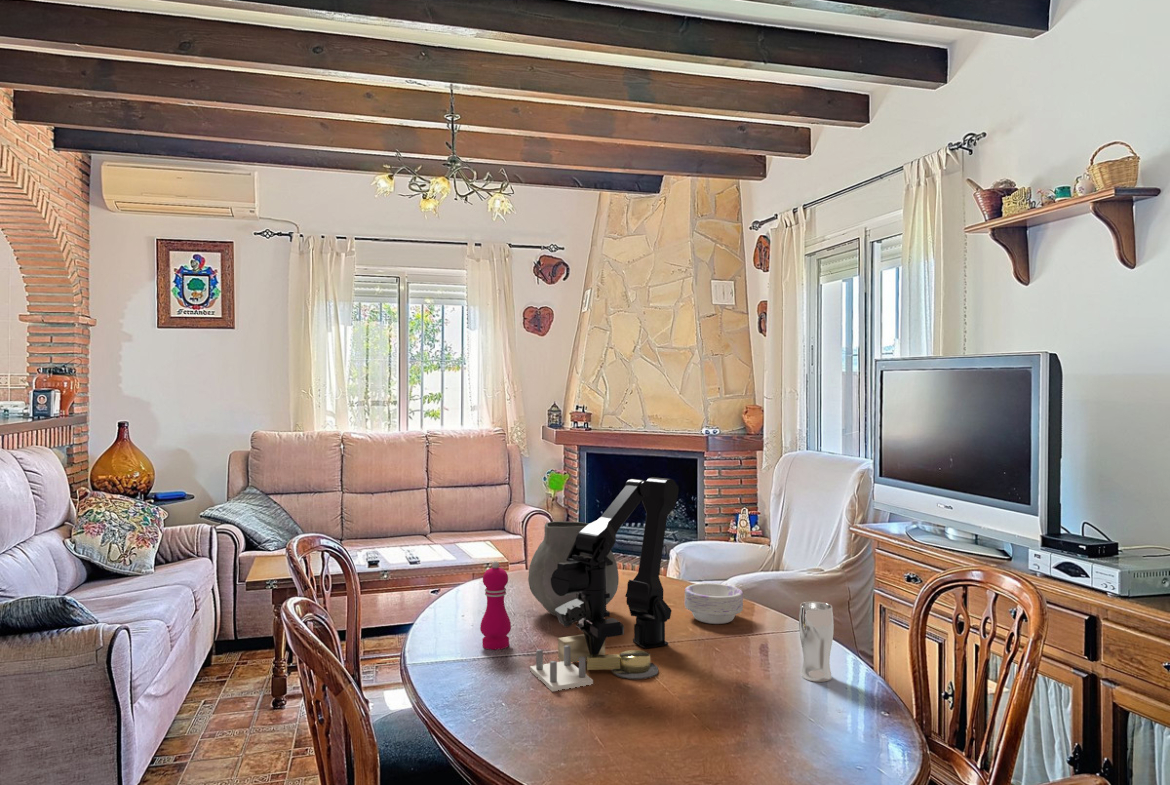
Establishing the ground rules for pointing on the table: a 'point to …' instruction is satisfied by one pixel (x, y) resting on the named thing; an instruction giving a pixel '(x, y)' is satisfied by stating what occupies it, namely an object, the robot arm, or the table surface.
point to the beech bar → (575, 647)
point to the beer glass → (816, 640)
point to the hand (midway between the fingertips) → (593, 658)
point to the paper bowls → (713, 602)
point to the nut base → (637, 673)
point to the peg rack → (561, 672)
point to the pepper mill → (495, 609)
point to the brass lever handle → (620, 661)
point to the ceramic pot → (556, 551)
